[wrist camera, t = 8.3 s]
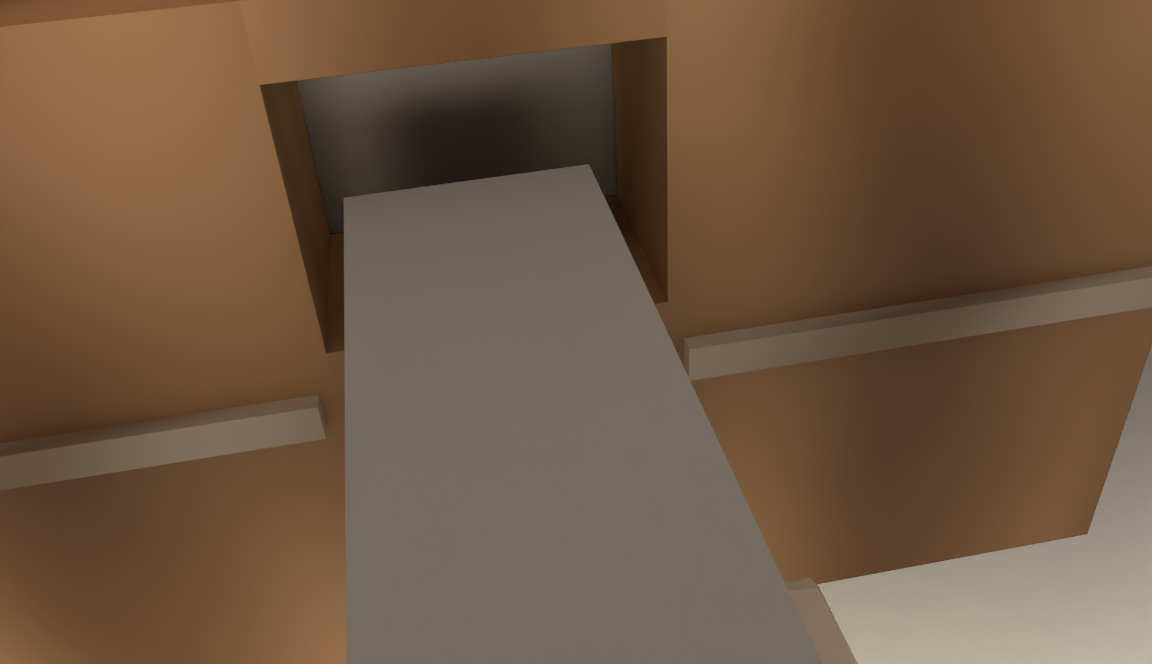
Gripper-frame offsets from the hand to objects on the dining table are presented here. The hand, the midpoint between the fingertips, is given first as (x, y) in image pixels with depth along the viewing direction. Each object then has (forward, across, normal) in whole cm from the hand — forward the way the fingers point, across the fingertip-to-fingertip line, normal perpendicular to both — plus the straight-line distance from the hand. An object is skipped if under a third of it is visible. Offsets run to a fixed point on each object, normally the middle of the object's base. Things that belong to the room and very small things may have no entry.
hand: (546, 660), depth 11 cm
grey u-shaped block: (+4, 0, 0) cm, 4 cm away
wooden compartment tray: (+8, 0, 0) cm, 9 cm away
